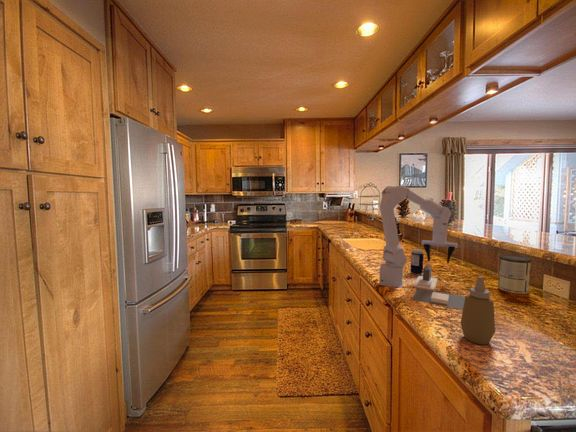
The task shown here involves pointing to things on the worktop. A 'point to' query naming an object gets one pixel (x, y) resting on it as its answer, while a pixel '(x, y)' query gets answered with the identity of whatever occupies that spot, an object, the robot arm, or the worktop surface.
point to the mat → (453, 302)
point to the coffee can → (514, 274)
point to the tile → (440, 298)
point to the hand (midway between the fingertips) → (438, 261)
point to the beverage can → (417, 262)
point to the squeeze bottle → (478, 314)
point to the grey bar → (426, 277)
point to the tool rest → (434, 281)
